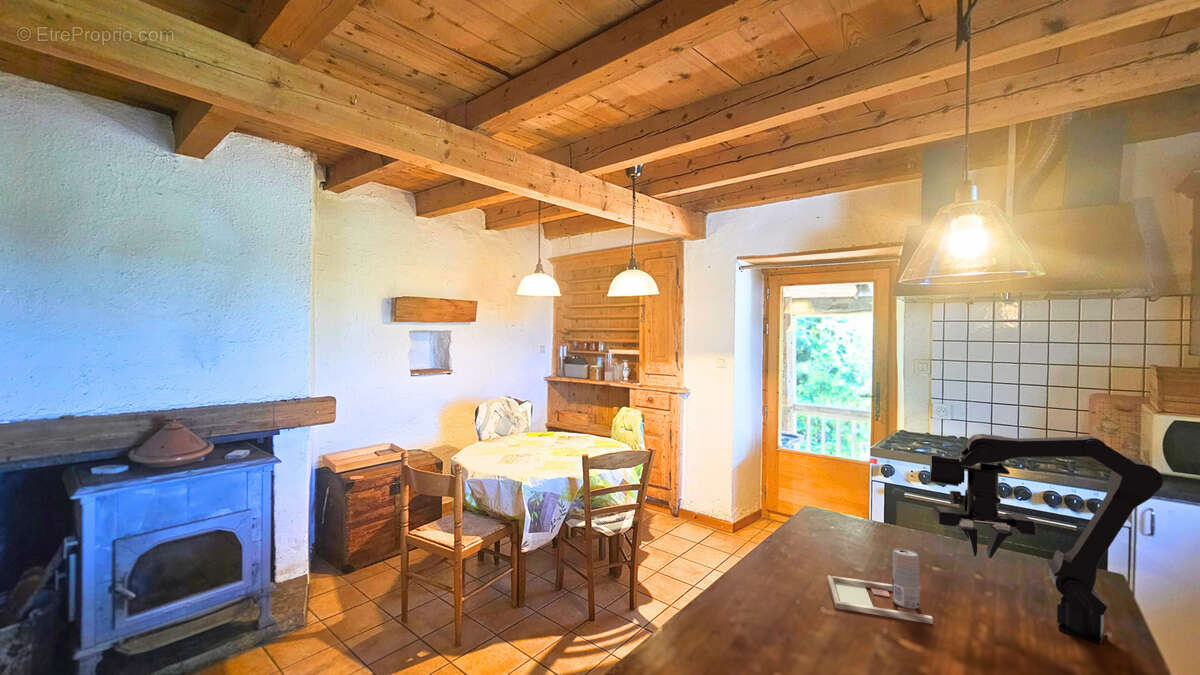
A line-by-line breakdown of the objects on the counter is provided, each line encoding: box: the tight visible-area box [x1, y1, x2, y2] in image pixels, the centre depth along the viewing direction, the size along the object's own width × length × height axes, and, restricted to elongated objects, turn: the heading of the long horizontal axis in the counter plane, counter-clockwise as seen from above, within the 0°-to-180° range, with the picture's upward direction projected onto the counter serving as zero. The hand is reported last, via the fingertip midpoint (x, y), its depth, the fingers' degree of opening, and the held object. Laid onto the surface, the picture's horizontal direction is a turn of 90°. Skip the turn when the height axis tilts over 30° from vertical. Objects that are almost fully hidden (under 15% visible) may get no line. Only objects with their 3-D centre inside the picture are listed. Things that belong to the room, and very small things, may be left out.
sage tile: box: [834, 582, 874, 607], centre depth 120 cm, size 7×12×1 cm, turn 162°
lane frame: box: [827, 575, 934, 625], centre depth 118 cm, size 20×14×1 cm
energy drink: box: [892, 547, 920, 610], centre depth 117 cm, size 5×5×12 cm
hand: (981, 556), depth 115 cm, fingers open, 3 cm apart
